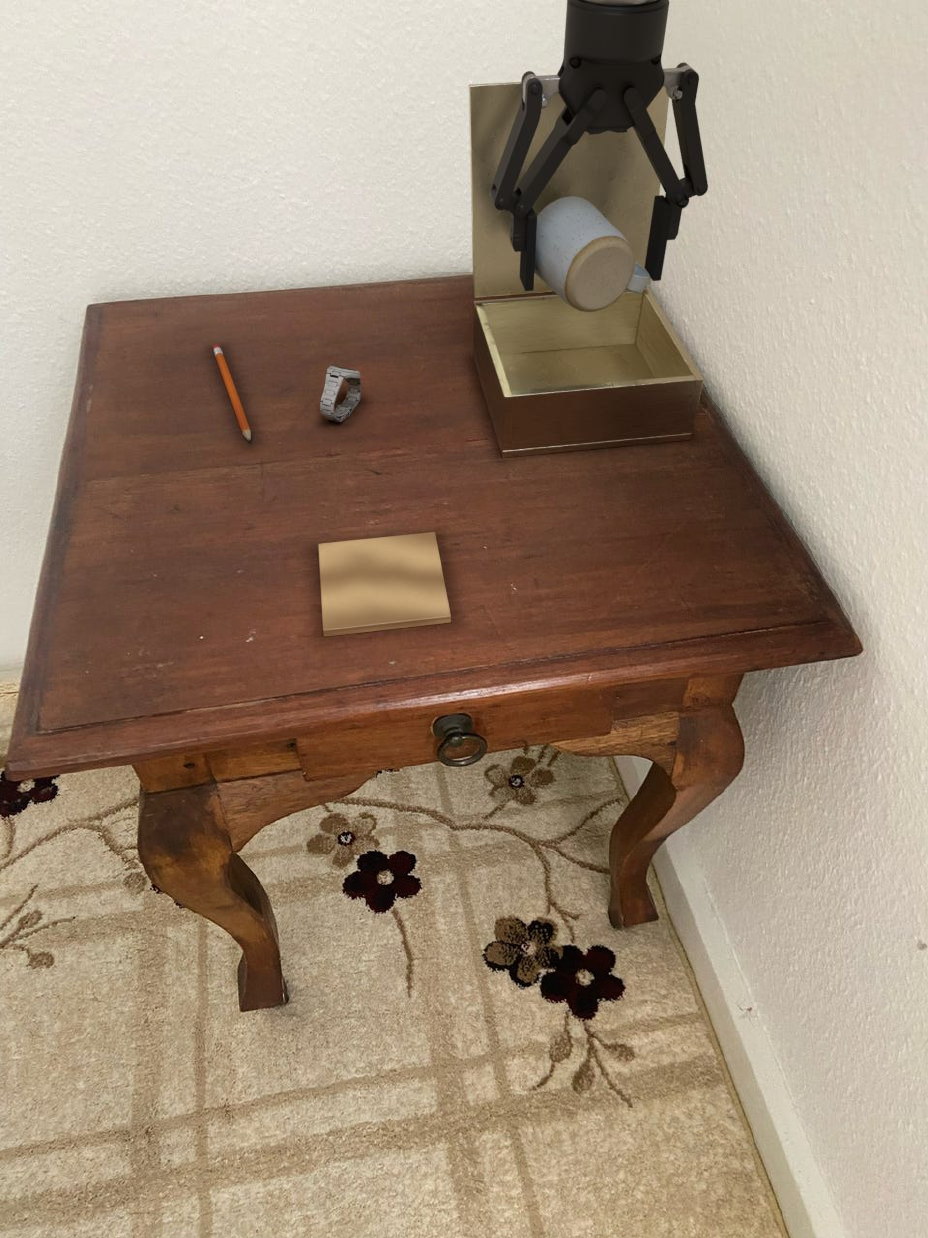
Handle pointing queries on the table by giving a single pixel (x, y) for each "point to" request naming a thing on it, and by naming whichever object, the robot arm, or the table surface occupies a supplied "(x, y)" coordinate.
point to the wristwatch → (332, 388)
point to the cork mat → (382, 584)
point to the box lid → (554, 181)
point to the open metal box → (583, 374)
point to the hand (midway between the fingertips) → (589, 279)
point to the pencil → (232, 392)
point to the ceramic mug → (584, 256)
